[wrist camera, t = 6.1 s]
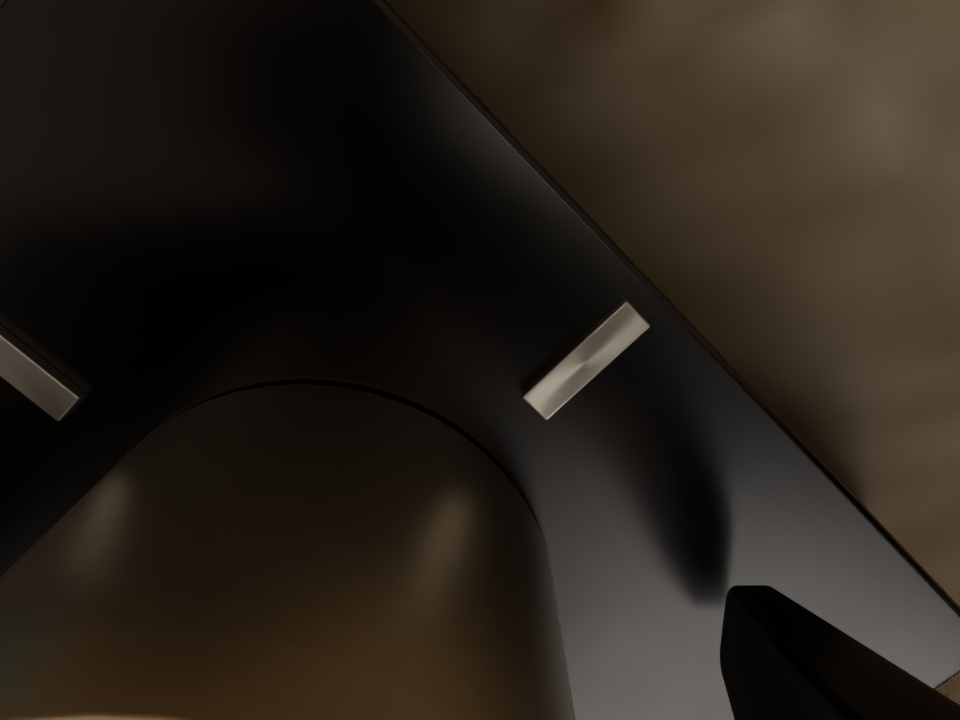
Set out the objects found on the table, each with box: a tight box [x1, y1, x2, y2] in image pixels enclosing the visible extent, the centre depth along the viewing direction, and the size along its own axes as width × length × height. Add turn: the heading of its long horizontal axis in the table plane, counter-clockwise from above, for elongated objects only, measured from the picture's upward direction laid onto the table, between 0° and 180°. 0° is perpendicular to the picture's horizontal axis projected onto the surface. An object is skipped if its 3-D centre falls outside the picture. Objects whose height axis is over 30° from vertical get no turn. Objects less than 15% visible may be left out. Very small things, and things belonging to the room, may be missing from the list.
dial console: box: [0, 0, 960, 720], centre depth 10 cm, size 12×10×3 cm
